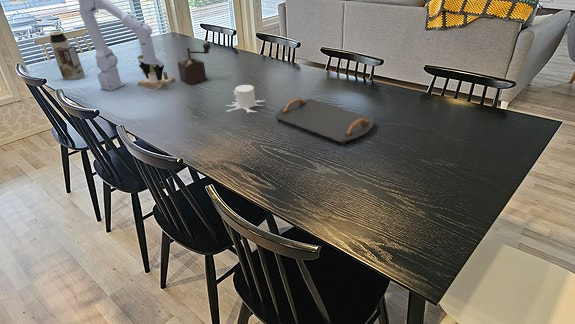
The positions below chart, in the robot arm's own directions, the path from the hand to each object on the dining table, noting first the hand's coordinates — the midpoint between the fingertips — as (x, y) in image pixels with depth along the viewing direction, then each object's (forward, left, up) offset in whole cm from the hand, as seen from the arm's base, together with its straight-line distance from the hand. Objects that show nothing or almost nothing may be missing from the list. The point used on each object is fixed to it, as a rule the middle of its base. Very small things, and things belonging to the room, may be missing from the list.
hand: (154, 78), depth 189 cm
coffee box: (-9, +52, -4) cm, 53 cm away
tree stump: (0, -54, -5) cm, 54 cm away
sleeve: (0, 0, -2) cm, 2 cm away
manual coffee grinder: (+17, -13, -4) cm, 22 cm away
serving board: (-2, -93, -5) cm, 93 cm away
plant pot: (+15, +20, -4) cm, 25 cm away
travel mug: (+6, +80, -4) cm, 80 cm away
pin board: (+4, +3, -4) cm, 6 cm away
